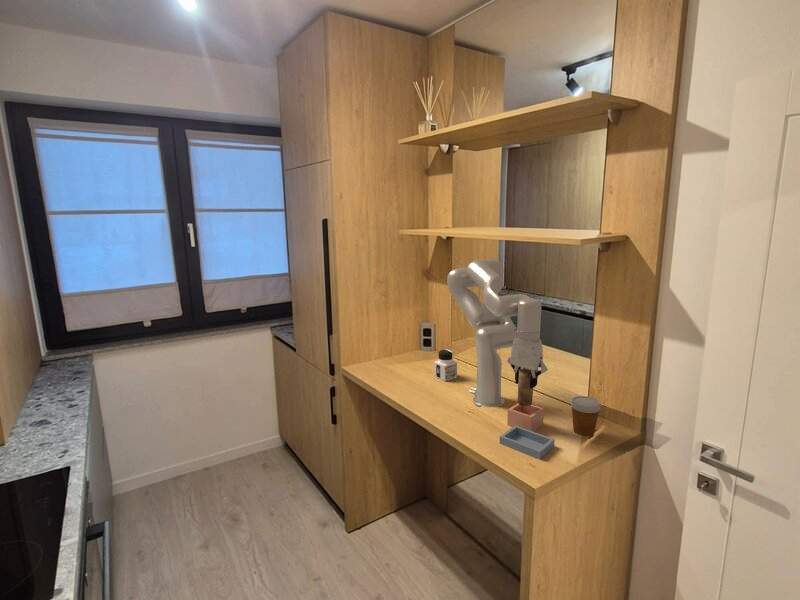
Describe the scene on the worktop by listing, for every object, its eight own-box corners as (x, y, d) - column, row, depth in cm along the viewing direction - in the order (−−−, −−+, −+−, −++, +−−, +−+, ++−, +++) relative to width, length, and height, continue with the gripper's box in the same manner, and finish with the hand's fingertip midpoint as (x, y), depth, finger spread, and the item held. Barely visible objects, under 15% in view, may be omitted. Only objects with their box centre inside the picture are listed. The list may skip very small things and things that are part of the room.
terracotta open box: (507, 427, 153) (507, 409, 151) (520, 418, 159) (520, 401, 157) (530, 436, 146) (531, 417, 145) (543, 426, 153) (543, 408, 151)
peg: (514, 402, 151) (516, 370, 149) (521, 398, 155) (523, 367, 152) (527, 407, 148) (529, 374, 145) (534, 402, 151) (536, 370, 149)
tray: (499, 446, 141) (499, 436, 140) (515, 434, 148) (515, 425, 147) (539, 462, 131) (539, 452, 130) (554, 449, 138) (554, 439, 137)
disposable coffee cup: (588, 444, 141) (591, 410, 138) (563, 432, 148) (564, 400, 146) (604, 435, 146) (606, 402, 144) (578, 424, 154) (580, 393, 151)
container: (445, 381, 196) (445, 354, 193) (434, 376, 202) (433, 350, 199) (457, 377, 200) (457, 351, 198) (446, 373, 206) (446, 347, 204)
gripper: (500, 332, 149) (498, 381, 153) (546, 342, 138) (543, 395, 141) (511, 328, 154) (509, 375, 158) (557, 337, 143) (553, 388, 147)
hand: (525, 384), depth 150 cm, fingers closed on peg, 5 cm apart
